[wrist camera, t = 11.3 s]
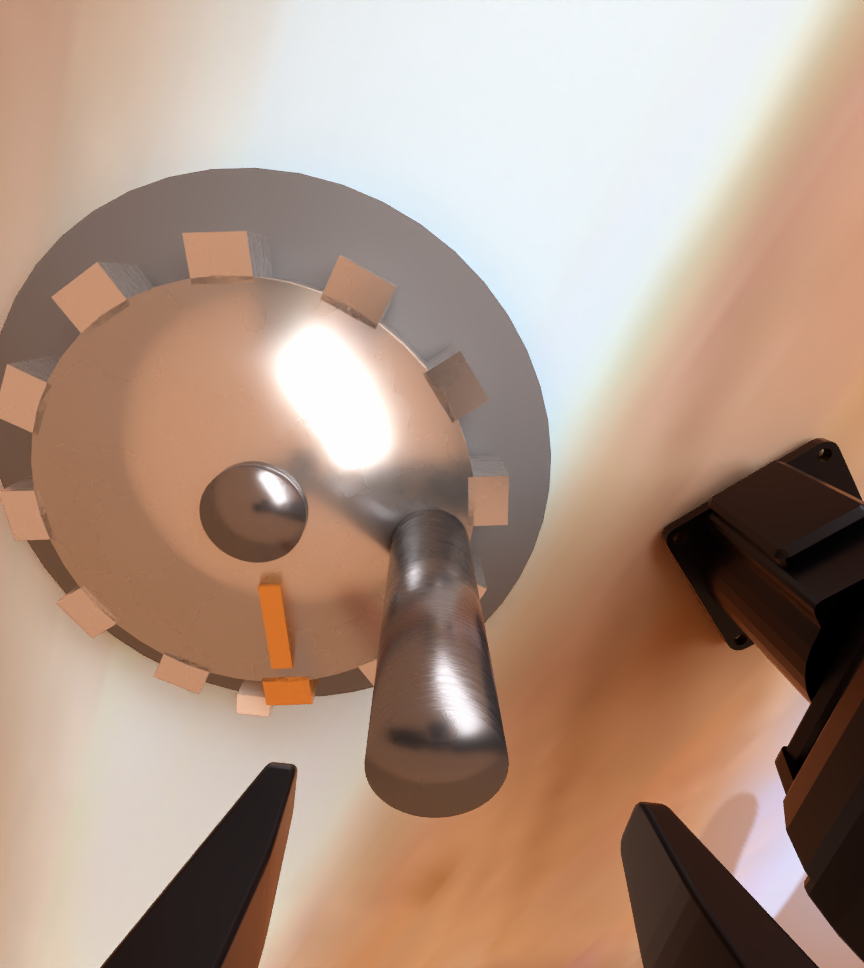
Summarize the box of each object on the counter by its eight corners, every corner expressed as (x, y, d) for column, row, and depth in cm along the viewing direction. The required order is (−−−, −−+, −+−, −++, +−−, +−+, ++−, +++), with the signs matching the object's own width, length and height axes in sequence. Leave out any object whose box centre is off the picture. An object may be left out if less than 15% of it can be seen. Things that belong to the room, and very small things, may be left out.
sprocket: (540, 609, 19) (648, 908, 10) (173, 703, 21) (-30, 1045, 11) (423, 167, 14) (426, -51, 5) (-55, 329, 16) (-765, 397, 6)
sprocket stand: (638, 526, 20) (664, 556, 17) (263, 749, 23) (247, 797, 21) (317, 15, 14) (297, -33, 12) (-110, 414, 18) (-185, 432, 15)
